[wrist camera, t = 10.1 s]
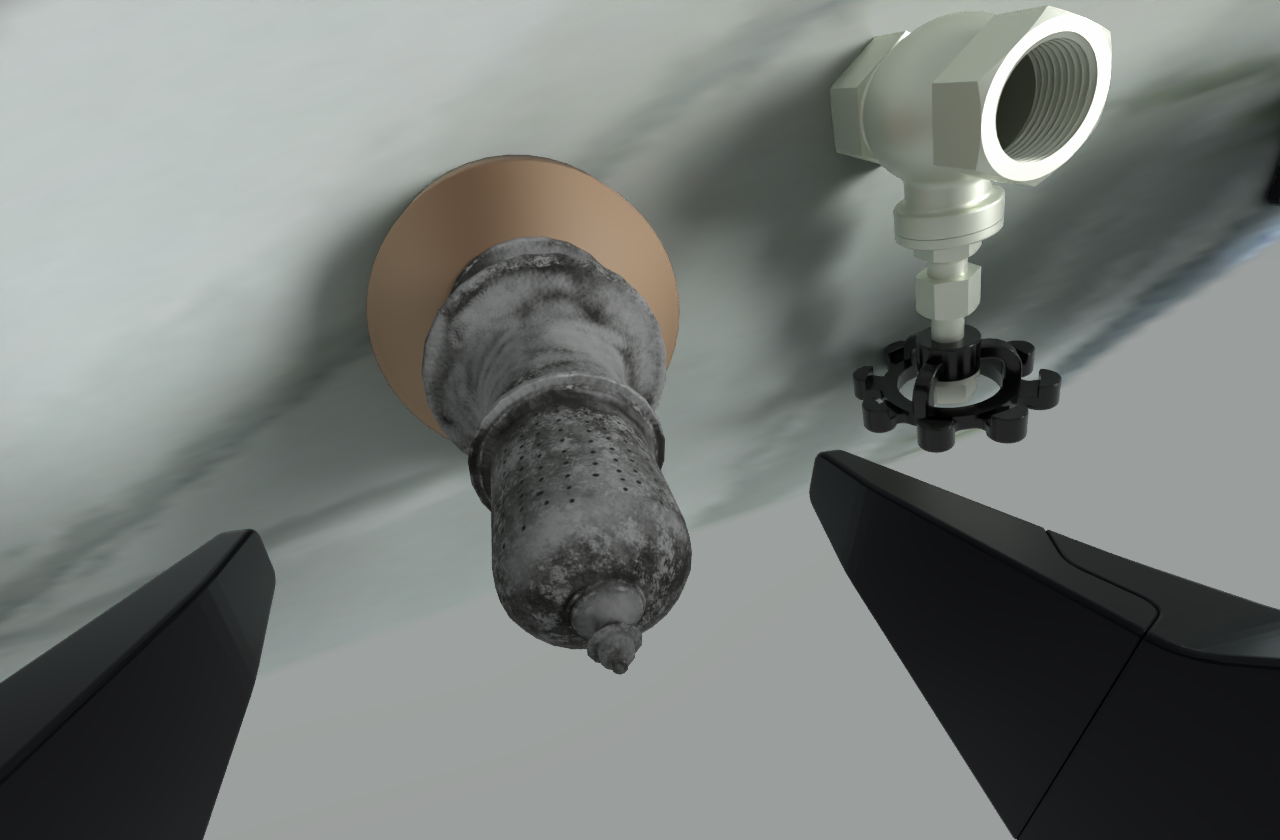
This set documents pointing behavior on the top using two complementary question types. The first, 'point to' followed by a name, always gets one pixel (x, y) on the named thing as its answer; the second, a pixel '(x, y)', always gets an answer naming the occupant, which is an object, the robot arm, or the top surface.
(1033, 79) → the valve
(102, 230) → the top surface
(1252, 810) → the robot arm
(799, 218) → the top surface
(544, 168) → the tan round disc
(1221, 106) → the top surface
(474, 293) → the salt shaker
